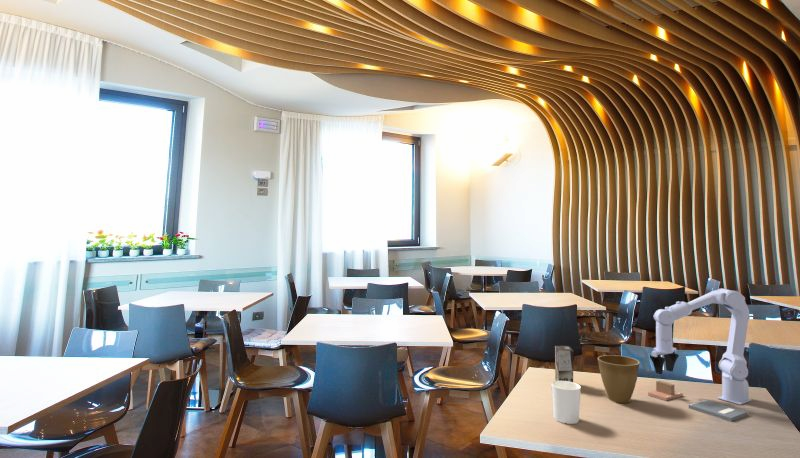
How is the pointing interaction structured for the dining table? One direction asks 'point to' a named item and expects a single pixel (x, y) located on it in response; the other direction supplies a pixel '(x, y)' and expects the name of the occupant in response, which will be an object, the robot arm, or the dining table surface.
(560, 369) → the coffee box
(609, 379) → the plant pot
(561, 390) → the candle holder
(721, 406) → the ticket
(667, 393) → the stub
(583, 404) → the dining table surface
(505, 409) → the dining table surface
